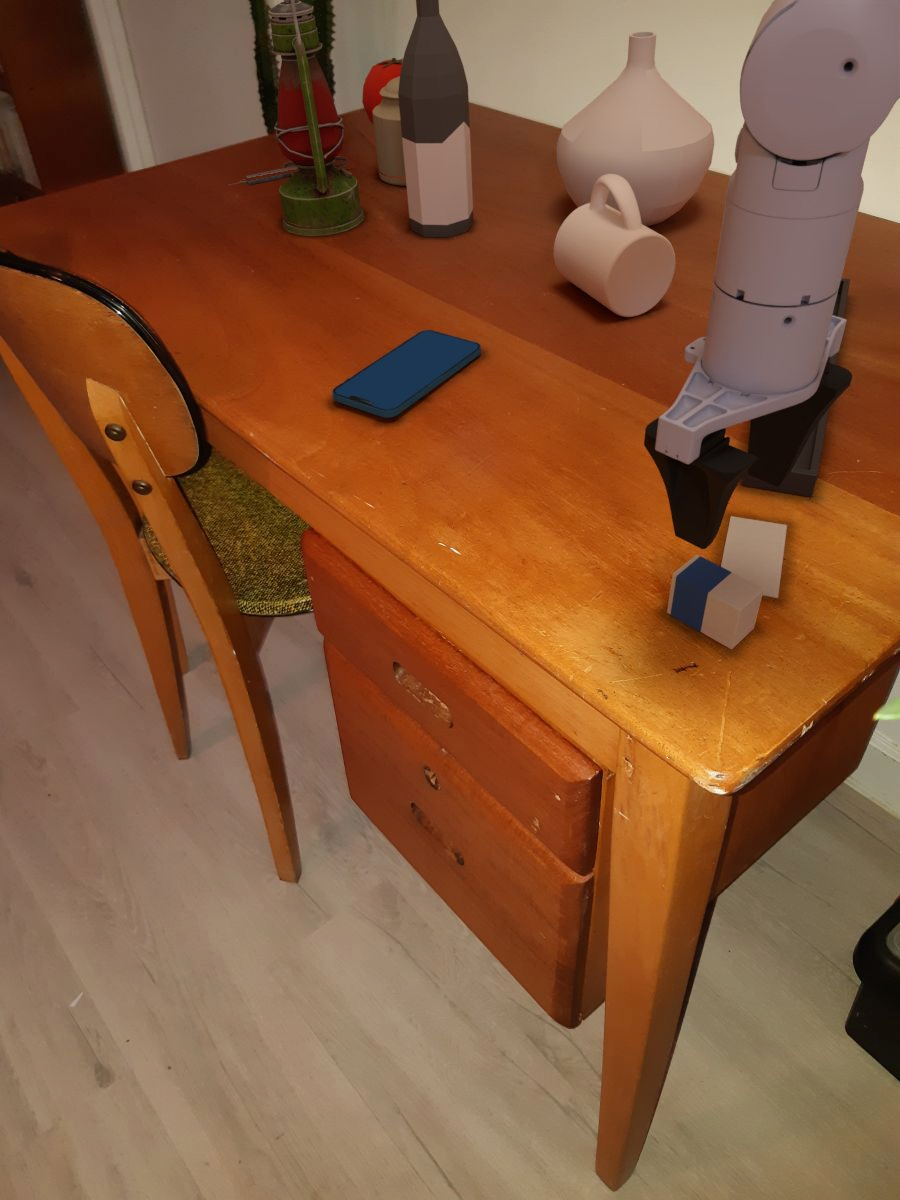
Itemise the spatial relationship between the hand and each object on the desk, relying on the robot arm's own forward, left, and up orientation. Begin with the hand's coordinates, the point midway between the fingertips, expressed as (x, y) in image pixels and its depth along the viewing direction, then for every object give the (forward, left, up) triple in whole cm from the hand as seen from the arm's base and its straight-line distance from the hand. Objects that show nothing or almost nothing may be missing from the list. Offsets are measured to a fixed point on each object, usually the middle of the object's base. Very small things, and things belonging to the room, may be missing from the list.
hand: (730, 508), depth 51 cm
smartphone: (+39, -9, -9) cm, 41 cm away
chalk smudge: (+1, -8, -9) cm, 12 cm away
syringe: (+95, -36, -10) cm, 102 cm away
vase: (+48, -54, -10) cm, 73 cm away
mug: (+35, -34, -10) cm, 49 cm away
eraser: (0, 0, -9) cm, 9 cm away
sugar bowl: (+83, -49, -10) cm, 97 cm away
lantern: (+78, -29, -10) cm, 84 cm away
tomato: (+99, -61, -10) cm, 116 cm away
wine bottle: (+64, -37, -10) cm, 74 cm away
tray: (+11, -31, -9) cm, 35 cm away
